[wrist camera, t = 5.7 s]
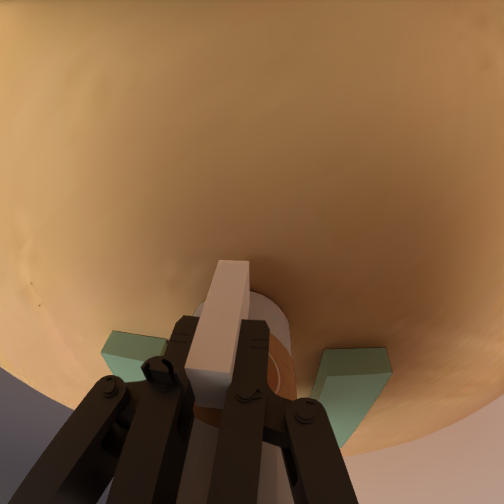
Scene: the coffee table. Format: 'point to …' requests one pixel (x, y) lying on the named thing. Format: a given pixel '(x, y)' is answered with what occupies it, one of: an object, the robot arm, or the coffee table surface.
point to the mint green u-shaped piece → (325, 387)
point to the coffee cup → (209, 419)
